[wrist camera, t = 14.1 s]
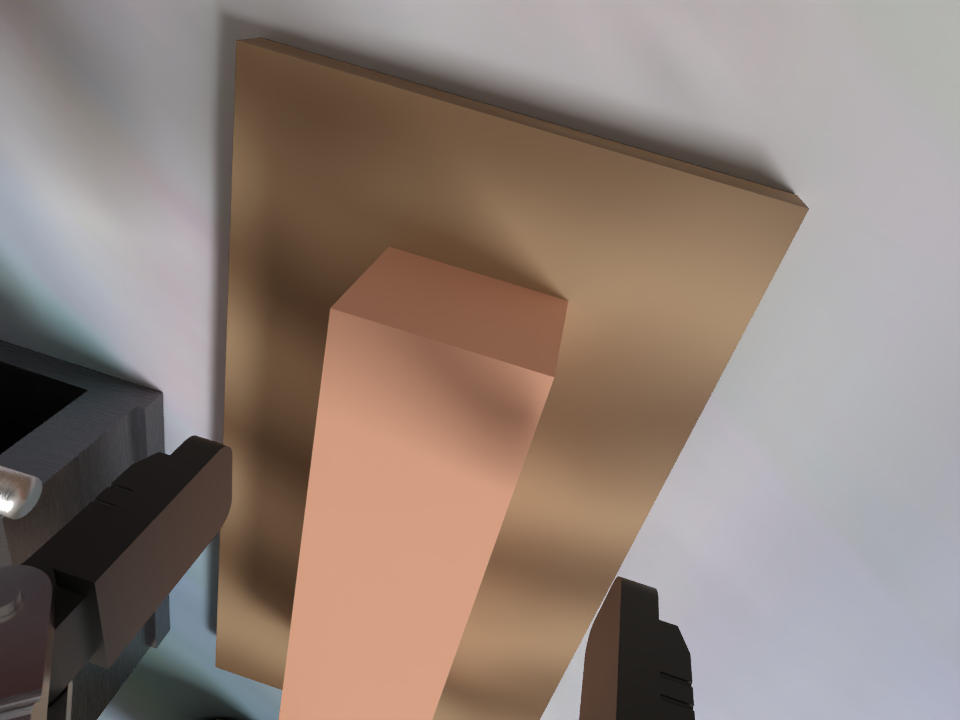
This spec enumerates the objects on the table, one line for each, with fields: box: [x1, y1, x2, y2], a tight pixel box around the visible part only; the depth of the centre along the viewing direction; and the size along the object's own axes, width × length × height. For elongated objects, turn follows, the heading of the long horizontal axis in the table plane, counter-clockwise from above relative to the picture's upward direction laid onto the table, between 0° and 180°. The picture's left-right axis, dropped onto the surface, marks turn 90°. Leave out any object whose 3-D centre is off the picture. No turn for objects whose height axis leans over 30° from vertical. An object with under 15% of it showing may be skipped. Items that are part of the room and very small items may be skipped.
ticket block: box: [279, 247, 568, 720], centre depth 20 cm, size 18×5×4 cm, turn 166°
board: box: [216, 38, 809, 720], centre depth 22 cm, size 26×14×1 cm, turn 166°
